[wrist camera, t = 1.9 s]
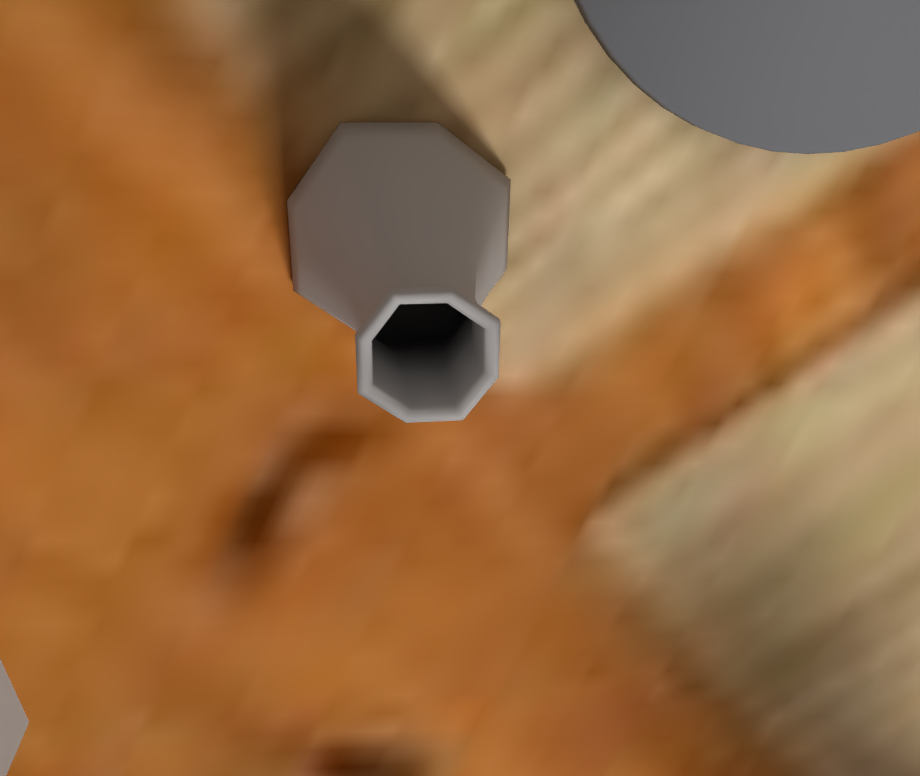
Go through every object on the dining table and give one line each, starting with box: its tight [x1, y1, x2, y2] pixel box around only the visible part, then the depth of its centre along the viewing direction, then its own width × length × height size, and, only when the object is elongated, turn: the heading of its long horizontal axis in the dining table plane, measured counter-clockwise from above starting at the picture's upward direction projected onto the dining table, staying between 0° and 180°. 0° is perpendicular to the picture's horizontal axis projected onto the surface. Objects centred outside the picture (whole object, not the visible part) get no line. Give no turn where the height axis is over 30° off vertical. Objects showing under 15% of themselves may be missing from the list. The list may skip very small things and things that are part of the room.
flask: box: [287, 122, 511, 423], centre depth 22 cm, size 7×7×10 cm
